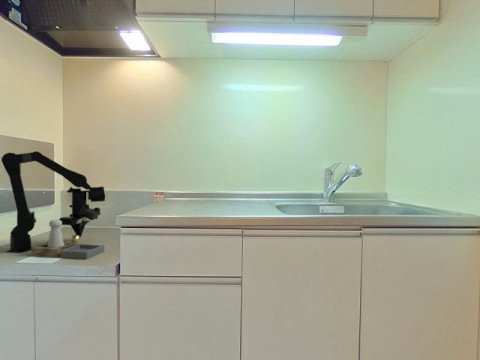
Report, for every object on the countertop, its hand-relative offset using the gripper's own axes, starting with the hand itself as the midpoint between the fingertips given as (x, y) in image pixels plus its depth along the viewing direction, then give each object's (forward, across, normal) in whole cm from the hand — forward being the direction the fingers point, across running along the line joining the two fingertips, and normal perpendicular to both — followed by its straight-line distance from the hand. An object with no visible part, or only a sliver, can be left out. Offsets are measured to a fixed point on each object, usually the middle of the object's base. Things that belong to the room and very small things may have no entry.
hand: (79, 237), depth 135 cm
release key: (+3, -6, 0) cm, 6 cm away
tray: (+3, -14, -12) cm, 19 cm away
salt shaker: (+3, -14, 0) cm, 14 cm away
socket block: (+3, -14, 0) cm, 14 cm away
